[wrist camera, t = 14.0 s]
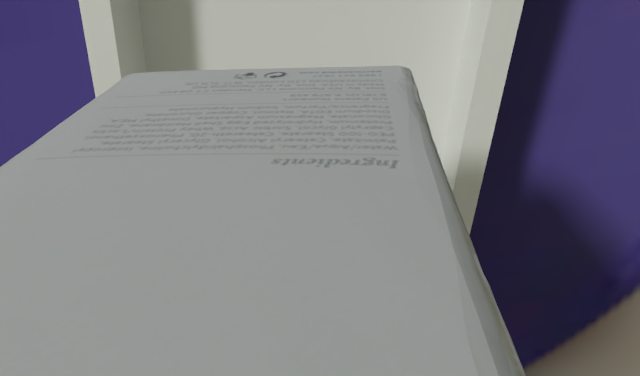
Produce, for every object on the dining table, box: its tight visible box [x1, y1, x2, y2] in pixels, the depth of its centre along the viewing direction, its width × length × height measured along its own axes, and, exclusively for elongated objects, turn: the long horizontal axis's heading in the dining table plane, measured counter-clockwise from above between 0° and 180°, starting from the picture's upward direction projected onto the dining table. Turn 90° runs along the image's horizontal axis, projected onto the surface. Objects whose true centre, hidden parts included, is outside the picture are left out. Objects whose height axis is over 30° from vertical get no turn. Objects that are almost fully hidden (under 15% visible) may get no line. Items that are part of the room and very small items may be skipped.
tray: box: [79, 0, 524, 235], centre depth 19 cm, size 14×18×3 cm
